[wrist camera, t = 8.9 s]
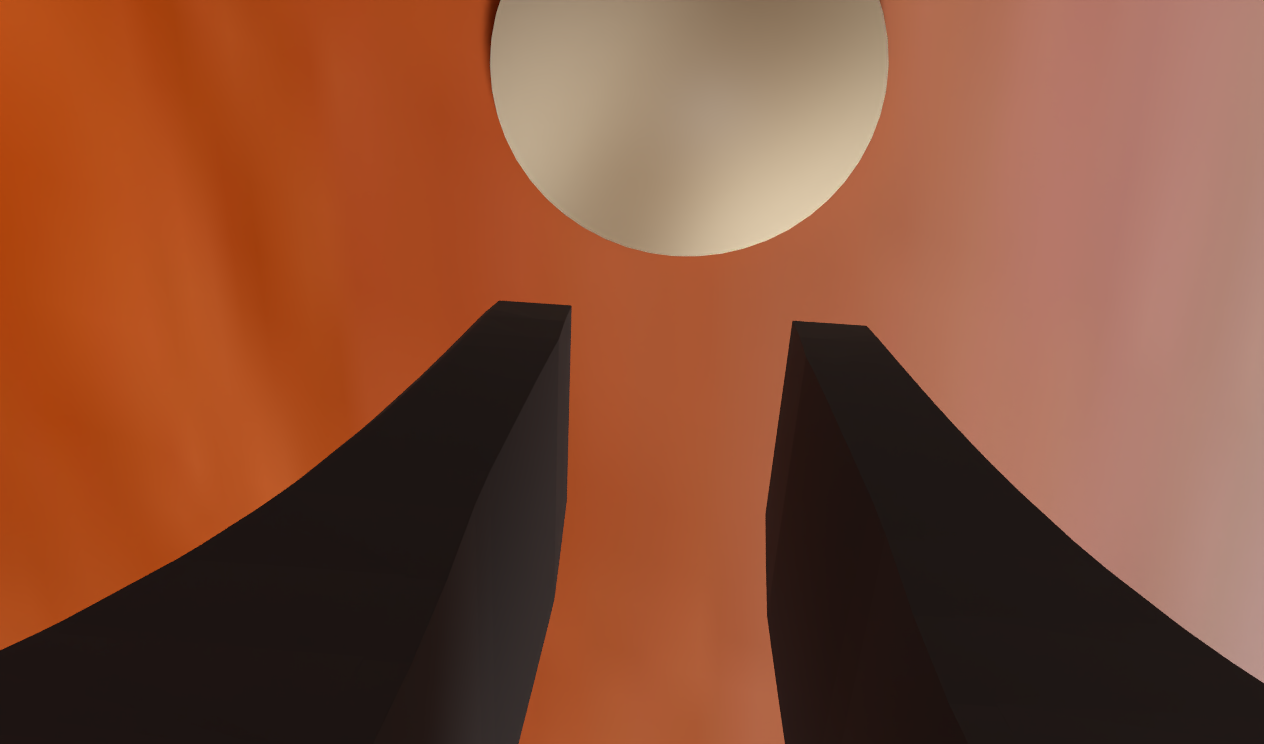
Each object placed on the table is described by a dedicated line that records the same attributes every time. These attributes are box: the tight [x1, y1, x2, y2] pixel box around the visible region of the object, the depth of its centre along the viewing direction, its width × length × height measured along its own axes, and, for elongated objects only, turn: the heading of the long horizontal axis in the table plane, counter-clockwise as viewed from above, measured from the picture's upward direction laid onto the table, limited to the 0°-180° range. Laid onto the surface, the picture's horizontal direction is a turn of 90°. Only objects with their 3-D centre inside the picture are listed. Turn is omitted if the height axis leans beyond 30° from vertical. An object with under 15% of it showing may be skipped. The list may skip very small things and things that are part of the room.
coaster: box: [490, 0, 889, 256], centre depth 18 cm, size 6×6×1 cm
